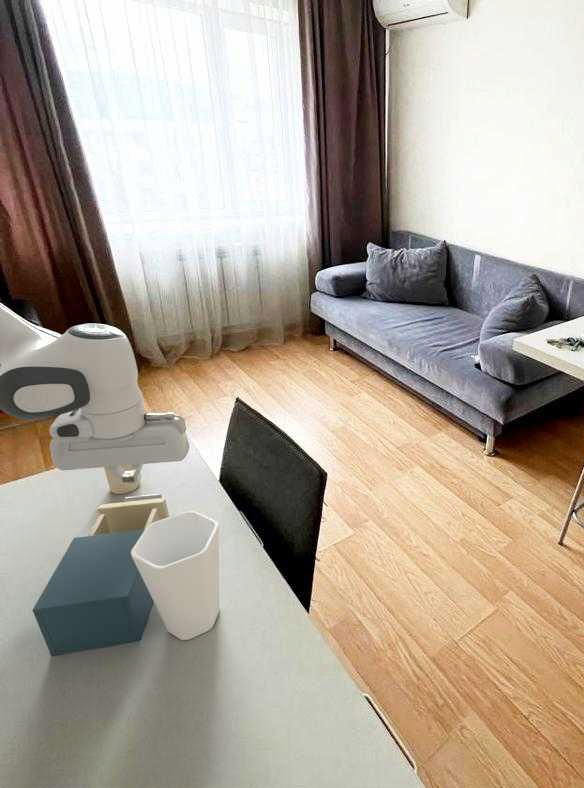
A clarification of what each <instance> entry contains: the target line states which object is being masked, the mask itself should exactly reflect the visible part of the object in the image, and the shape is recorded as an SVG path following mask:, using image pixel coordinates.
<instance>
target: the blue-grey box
mask: <svg viewBox="0 0 584 788" xmlns="http://www.w3.org/2000/svg"><path fill="white" fill-rule="evenodd" d="M144 531H145V529H143V530H135V531H127V532H118V533H110V534H101V535H93V536H88V535H86V536H77V537H73V538H72V541H71V542H70V544H69V546H68V548H67V549H66V551H65V553H64V554H63V555H62V558H61V559H60V561H59V563H58V565H57V567H56V568H55V570H54V572H53V573H52V575H51V577H50V579H49V580H48V582H47V584H46V586H45V588H44V589H43V590H42V593H41V594H40V596H39V598H38V600H37V601H36V603H35V605H34V606H33V608H32V613H33V615H34V617H35V620H36V622H37V625H38V628H39V630H40V632H41V634H42V637H43V639H44V642H45V644H46V646H47V649H48V651H49V653H50V656H51V657H53V656H59V655H60V656H61V655H65V654H72V653H77V652H84V651H89V650H94V649H95V650H96V649H101V648H107V647H114V646H119V645H125V644H130V643H137V642H141V641H142V639H143V636H144V632H145V629H146V626H147V624H148V620H149V617H150V616H151V615H150V614H151V611H152V608H153V605H154V604H155V603H154V601H153V599H152V597H151V595H150V593H149V591H148V589H147V587H146V585H145V583H144V580H143V578H142V576H141V574H140V572H139V570H138V568H137V566H136V564H135V562H134V560H133V558H132V556H131V550H132V549H133V547H134V546H135V544H136V543H137V541H138V540H139V538H140V537H141V535H142V534H143V532H144Z"/></svg>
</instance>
